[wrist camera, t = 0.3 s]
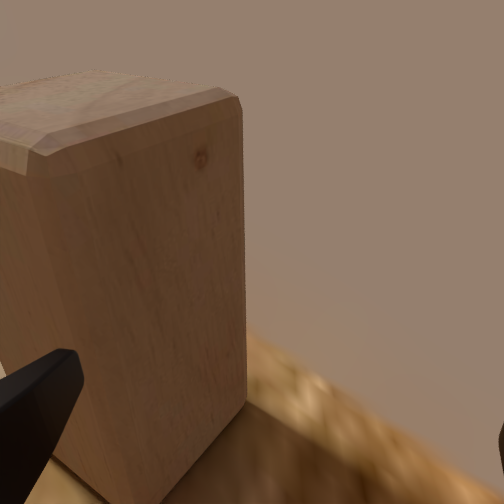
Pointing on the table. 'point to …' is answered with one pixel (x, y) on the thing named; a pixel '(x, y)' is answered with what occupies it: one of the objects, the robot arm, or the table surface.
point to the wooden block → (127, 266)
